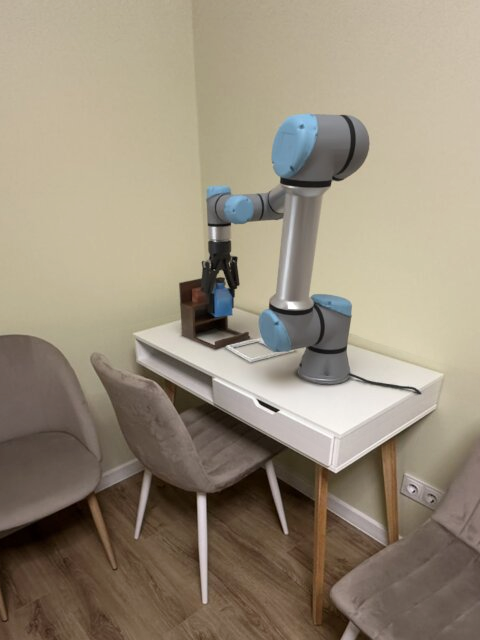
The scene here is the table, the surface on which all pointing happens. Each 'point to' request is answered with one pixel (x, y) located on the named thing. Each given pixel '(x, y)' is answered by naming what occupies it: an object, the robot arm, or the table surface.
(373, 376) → the table surface
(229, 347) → the photo frame
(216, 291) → the perfume bottle
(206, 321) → the desk rack
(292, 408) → the table surface
